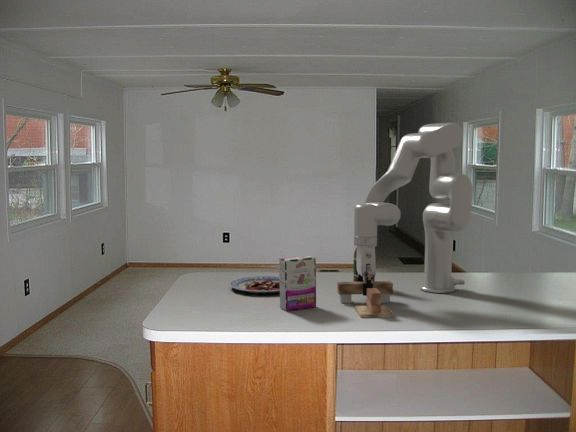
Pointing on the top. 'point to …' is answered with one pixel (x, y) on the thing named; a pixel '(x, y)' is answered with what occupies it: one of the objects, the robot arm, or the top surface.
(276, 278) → the ceramic plate
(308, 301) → the candy bar box
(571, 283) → the top surface
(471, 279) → the top surface
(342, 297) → the grey cubes
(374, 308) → the fulcrum
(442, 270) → the robot arm
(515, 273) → the top surface
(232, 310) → the top surface
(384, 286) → the walnut bar
